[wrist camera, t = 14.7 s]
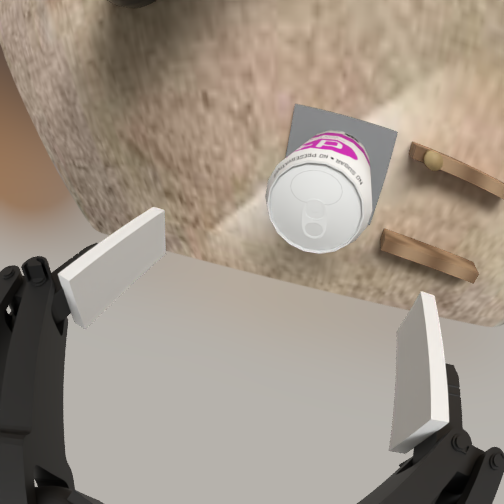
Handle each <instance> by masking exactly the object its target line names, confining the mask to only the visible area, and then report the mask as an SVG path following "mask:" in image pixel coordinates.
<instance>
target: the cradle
mask: <svg viewBox="0 0 504 504" xmlns="http://www.w3.org/2000/svg"><path fill="white" fill-rule="evenodd" d="M409 154H410V156H411V157H412V158H413V159H415V160H418V161H420V162H423V163H424V164H425V165H426V166H427V167H428V168H429V169H430V170H432V171H438V170H443V171H445V172H447V173H450V174H452V175H454V176H457V177H459V178H461V179H463V180H465V181H468V182H470V183H472V184H474V185H476V186H478V187H480V188H482V189H484V190H486V191H488V192H490V193H492V194H494V195H496V196H498V197H500V198H502V199H504V183H503V182H501V181H499V180H497V179H495V178H493V177H491V176H489V175H487V174H485V173H483V172H481V171H479V170H477V169H475V168H473V167H471V166H469V165H467V164H465V163H463V162H461V161H458V160H456V159H454V158H452V157H449V156H447V155H445V154H442V153H440V152H438V151H435V150H433V149H430V148H428V147H425V146H423V145H420V144H417V143H415V142H412V145H411V148H410V152H409ZM380 241H381V250H382V251H385V252H388V253H391V254H394V255H396V256H399V257H402V258H405V259H408V260H411V261H414V262H416V263H419V264H422V265H425V266H428V267H430V268H433V269H436V270H439V271H441V272H444V273H447V274H449V275H452V276H455V277H458V278H460V279H463V280H465V281H468V282H471V283H473V284H474V282H475V280H476V279H477V277H478V275H479V273H478V271H477V269H476V267H475V265H474V263H473V262H472V261H469V260H467V259H464V258H462V257H459V256H457V255H454V254H452V253H449V252H447V251H444V250H442V249H439V248H436V247H434V246H431V245H428V244H426V243H423V242H420V241H418V240H415V239H412V238H409V237H406V236H404V235H401V234H398V233H395V232H392V231H389V230H387V229H384V231H383V233H382V236H381V239H380Z"/></svg>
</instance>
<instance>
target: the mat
mask: <svg viewBox="0 0 504 504" xmlns="http://www.w3.org/2000/svg"><path fill="white" fill-rule="evenodd" d="M329 130H334V131H343V132H345V133H347V134H349V135H352V136H354V137H355V138H356V139H357V140H358V141H359V142H360V143H361V144H362V145H363V146H364V148H365V150H366V152H367V154H368V156H369V160H370V172H371V189H372V213H371V216H370V219H369V222H368V225H370V223H371V220H372V217H373V214H374V211H375V208H376V205H377V202H378V199H379V195H380V192H381V189H382V186H383V183H384V179H385V176H386V173H387V169H388V166H389V162H390V159H391V155H392V152H393V148H394V144H395V140H396V137H397V133H398V132H397V131H394V130H391V129H388V128H385V127H382V126H379V125H375V124H372V123H369V122H366V121H362V120H359V119H355V118H352V117H348V116H345V115H341V114H337V113H333V112H329V111H325V110H321V109H317V108H312V107H308V106H303V105H298V104H295V108H294V114H293V119H292V125H291V131H290V136H289V142H288V147H287V153H286V157H288V156H289V155H290V154H291V153H293V152H294V151H295V150H296V149H298V148H299V147H300V146H302V145H303V144H304V143H305V142H307V141H308V140H309V139H311V138H312V137H314V136H315V135H316V134H318V133H321V132H325V131H329Z"/></svg>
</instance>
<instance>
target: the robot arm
mask: <svg viewBox="0 0 504 504" xmlns="http://www.w3.org/2000/svg"><path fill="white" fill-rule="evenodd" d="M108 1H109V2H111V3H112V4H115V5H118V6H123V7H129V8H137V7H142V6H145V5H147V4H150V3H152V2H154V1H155V0H108ZM165 254H166V245H165V210H163V209H159V208H156V207H152V208H150V209H149V210H147V211H146V212H144V213H143V214H141V215H140V216H138V217H136V218H135V219H133V220H132V221H130V222H129V223H127V224H126V225H124V226H123V227H122V228H120V229H119V230H117V231H116V232H114V233H113V234H111V235H110V236H108V237H107V238H106V239H104V240H103V241H101V242H100V243H99V244H98V243H95V244H93V245H90V246H88V247H86V248H84V249H83V250H82V251H80V252H79V254H76V255H75V256H74V257H73V258H71V259H69V260H68V261H67V262H65V263H64V264H63V265H62V266H60V267H59V268H57V269H56V270H55V271H54V272H52V273H51V271H50V268H49V264H48V261H47V259H46V258H44V257H42V256H41V257H40V256H37V257H33V258H30V259H28V260H27V261H26V262H25V263H24V264H23V265H22V267H21V268H22V270H23V273H24V276H22V274H21V271H20V269H19V267H18V266H8V267H6V268H4V269H3V270H2V271H1V272H0V504H103V503H102V502H100V501H99V500H96V499H93V498H92V497H89V496H87V495H84V494H82V493H80V492H78V491H76V490H75V487H74V480H73V475H72V472H71V469H70V467H69V465H68V463H67V460H66V456H65V445H64V424H63V382H64V381H63V380H64V361H65V347H66V337H67V328H68V319H67V316H68V315H69V314H70V313H71V314H72V316H73V319H74V322H75V323H77V324H78V325H80V326H81V327H83V328H84V329H87V328H88V326H90V325H91V324H92V323H93V322H94V321H95V320H96V319H97V318H98V317H99V316H100V315H101V314H102V313H103V312H104V311H105V310H106V309H107V308H108V307H109V306H110V305H111V304H112V303H113V302H114V301H115V300H116V299H117V298H118V297H120V296H121V295H122V294H123V293H124V292H125V291H126V290H127V289H128V288H129V287H130V286H131V285H132V284H133V283H134V282H136V281H137V280H138V279H139V278H140V277H141V276H142V275H143V274H144V273H145V272H146V271H147V270H149V269H150V268H151V267H152V266H153V265H154V264H155V263H156V262H157V261H158V260H160V259H161V258H162V257H163V256H164V255H165ZM8 305H9V307H10V309H11V312H10V314H8V313H7V311H6V309H7V307H8ZM413 448H414V454H413V457H411V458H409V459H408V460H406V461H405V462H403V463H401V464H400V465H399V466H400V468H399V469H398V470H397V471H396V472H395V473H394V474H393V475H391V476H390V477H389V478H388V479H387V480H386V481H385V482H383V483H382V484H381V485H380V486H379V487H377V488H376V489H375V490H374V491H373V492H371V493H370V494H369V495H368V496H366V497H365V498H364V499H363V500H361V501H360V502H359V503H357V504H492V502H493V500H494V497H495V495H496V492H497V490H498V487H499V484H500V481H501V478H502V475H503V472H504V453H503V452H502V450H501V449H500V448H497V447H492V448H490V449H489V450H487V451H486V452H484V451H482V450H480V449H478V448H476V447H474V446H473V445H472V442H471V438H470V436H469V434H468V433H467V432H466V431H465V430H463V428H462V410H461V398H460V389H459V377H458V374H457V372H456V370H455V368H454V365H450V364H446V363H445V357H444V349H443V342H442V335H441V329H440V323H439V317H438V312H437V306H436V301H435V297H434V295H431V294H428V293H425V292H422V291H421V292H420V294H419V296H418V297H417V299H416V301H415V303H414V304H413V306H412V308H411V309H410V311H409V313H408V314H407V316H406V318H405V319H404V321H403V323H402V324H401V326H400V327H399V329H398V331H397V357H396V384H395V399H394V412H393V421H392V430H391V440H390V446H389V451H392V452H399V453H407V452H409V451H410V450H411V449H413ZM34 479H35V481H36V483H37V485H38V487H35V486H34Z"/></svg>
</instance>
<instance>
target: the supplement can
mask: <svg viewBox="0 0 504 504" xmlns="http://www.w3.org/2000/svg"><path fill="white" fill-rule="evenodd" d="M265 197H266V202H267V207H268V213H269V217H270V220H271V222H272V224H273V226H274V227H275V229H276V231H277V233H278V234H279V235H280V236H281V237H282V238H283V239H284V240H285V241H287V242H288V243H289V244H290V245H292V246H294V247H296V248H298V249H300V250H302V251H305V252H312V253H318V254H321V253H327V252H334V251H336V250H338V249H340V248H342V247H344V246H346V245H348V244H350V243H351V242H353V241H355V240H356V239H357V238H358V237H359V236H360V234H361V233H362V232H363V231H364V230H365V229H366V227H367V225H368V222H369V219H370V216H371V213H372V189H371V172H370V160H369V156H368V154H367V152H366V150H365V148H364V146H363V145H362V144H361V143H360V142H359V141H358V140H357V139H356V138H355V137H354V136H352V135H349V134H347V133H345V132H343V131H334V130H329V131H325V132H321V133H318V134H316V135H315V136H314V137H312V138H311V139H309V140H308V141H307V142H305V143H304V144H303V145H302V146H300V147H299V148H298V149H296V150H295V151H294V152H293V153H291V154H290V155H289V156H288V157H286V158H285V159H284V160H282V161H281V162H280V163H279V164H277V166H276V168H275V169H274V171H273V173H272V174H271V176H270V178H269V179H268V185H267V191H266V196H265Z"/></svg>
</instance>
